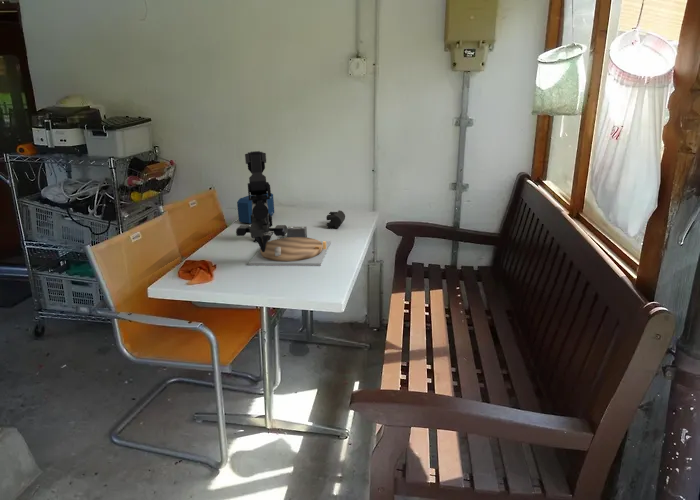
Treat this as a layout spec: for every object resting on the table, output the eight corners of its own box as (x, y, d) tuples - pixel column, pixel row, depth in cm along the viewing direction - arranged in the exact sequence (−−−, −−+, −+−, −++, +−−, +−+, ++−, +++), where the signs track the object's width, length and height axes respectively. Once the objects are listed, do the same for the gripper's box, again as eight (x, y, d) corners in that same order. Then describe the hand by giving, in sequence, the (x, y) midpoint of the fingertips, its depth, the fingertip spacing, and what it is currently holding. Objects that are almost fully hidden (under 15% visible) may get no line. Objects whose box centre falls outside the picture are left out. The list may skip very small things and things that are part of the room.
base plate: (248, 265, 209) (247, 255, 208) (266, 242, 236) (266, 234, 234) (320, 265, 206) (320, 255, 205) (330, 243, 233) (330, 234, 231)
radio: (262, 213, 285) (259, 175, 278) (276, 215, 281) (273, 176, 274) (236, 223, 267) (232, 183, 261) (251, 225, 263) (247, 184, 257)
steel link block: (287, 239, 239) (286, 228, 238) (289, 237, 243) (288, 225, 242) (305, 240, 239) (304, 228, 237) (307, 237, 242) (306, 225, 241)
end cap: (341, 229, 252) (341, 215, 250) (326, 229, 253) (326, 215, 251) (345, 223, 261) (345, 210, 259) (331, 223, 262) (330, 210, 260)
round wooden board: (279, 239, 236) (278, 228, 234) (332, 244, 227) (331, 232, 226) (248, 257, 214) (247, 245, 212) (306, 264, 205) (305, 251, 203)
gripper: (229, 218, 198) (233, 258, 203) (279, 218, 196) (282, 259, 201) (238, 210, 209) (242, 249, 214) (286, 210, 207) (289, 249, 212)
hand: (263, 251), depth 210 cm, fingers closed
